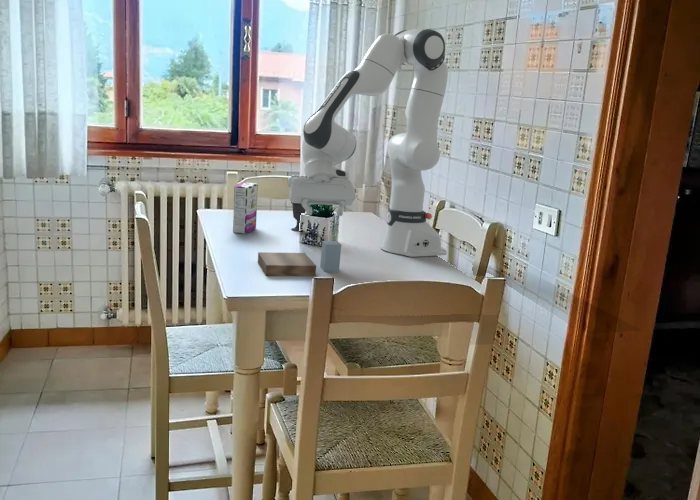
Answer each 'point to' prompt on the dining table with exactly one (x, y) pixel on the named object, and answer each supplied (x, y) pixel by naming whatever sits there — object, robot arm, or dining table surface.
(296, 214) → the sundae
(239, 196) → the candy bar box
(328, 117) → the robot arm
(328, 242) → the slate block
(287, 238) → the dining table surface
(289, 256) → the block
